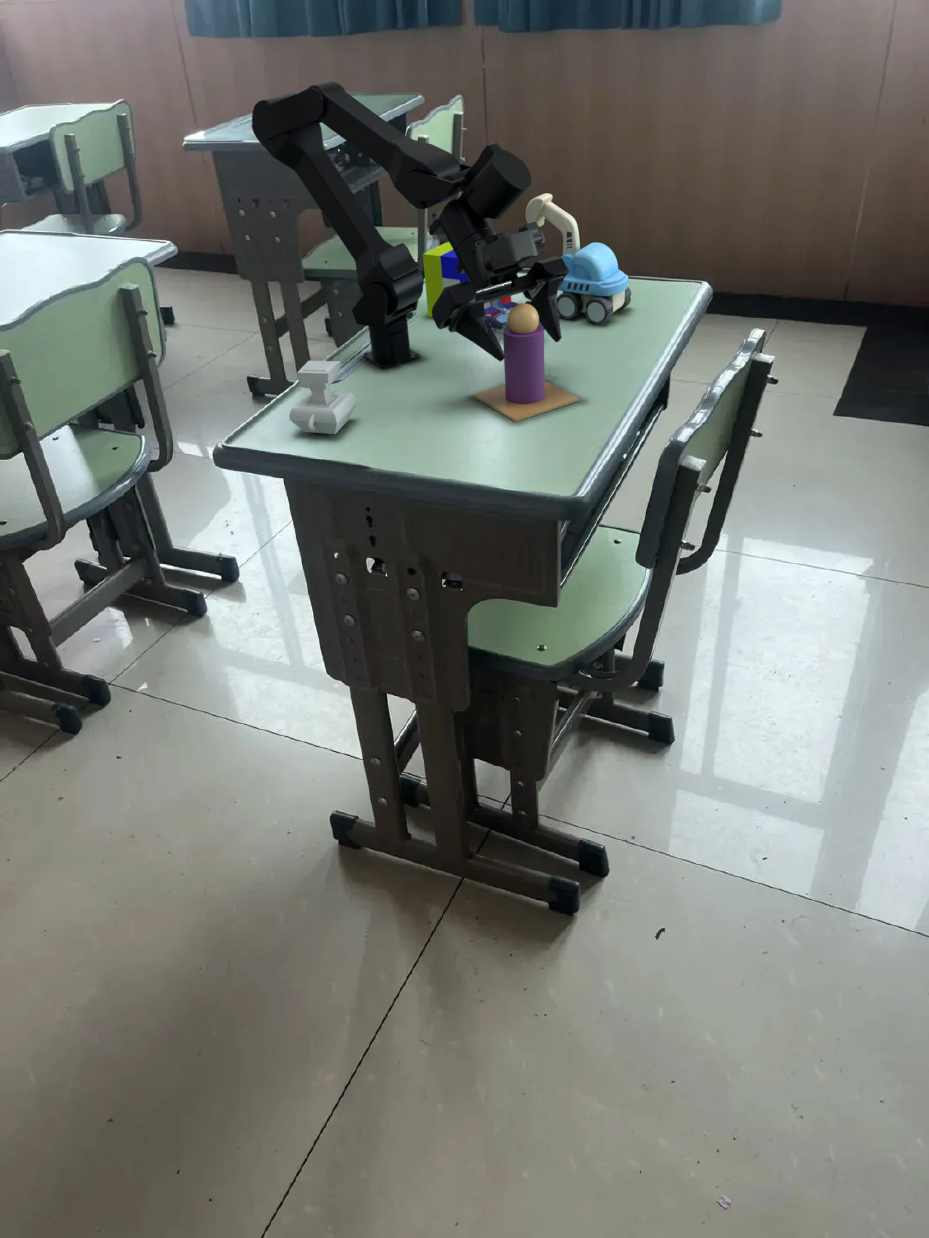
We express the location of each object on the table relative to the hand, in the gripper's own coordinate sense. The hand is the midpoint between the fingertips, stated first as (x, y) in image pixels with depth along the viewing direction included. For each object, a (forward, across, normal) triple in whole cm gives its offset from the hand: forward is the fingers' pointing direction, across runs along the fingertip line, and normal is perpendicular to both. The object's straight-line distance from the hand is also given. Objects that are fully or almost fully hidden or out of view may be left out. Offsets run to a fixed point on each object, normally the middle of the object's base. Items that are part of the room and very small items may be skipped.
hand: (531, 349), depth 117 cm
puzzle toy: (-20, +15, +30) cm, 39 cm away
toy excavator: (-11, +28, +21) cm, 36 cm away
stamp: (-3, -24, +14) cm, 28 cm away
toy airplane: (-10, +14, +20) cm, 27 cm away
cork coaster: (+4, 0, +6) cm, 7 cm away
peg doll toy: (+4, 0, +6) cm, 7 cm away
